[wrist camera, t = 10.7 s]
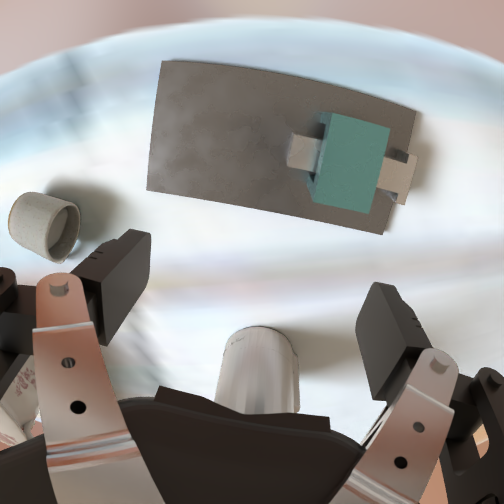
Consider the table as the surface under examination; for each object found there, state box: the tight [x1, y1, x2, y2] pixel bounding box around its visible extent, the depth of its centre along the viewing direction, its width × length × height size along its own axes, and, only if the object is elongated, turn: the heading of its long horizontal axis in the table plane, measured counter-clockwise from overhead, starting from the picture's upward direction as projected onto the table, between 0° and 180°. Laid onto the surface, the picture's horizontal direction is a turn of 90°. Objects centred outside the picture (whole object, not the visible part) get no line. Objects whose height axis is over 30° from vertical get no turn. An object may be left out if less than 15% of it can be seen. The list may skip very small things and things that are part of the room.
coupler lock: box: [307, 112, 390, 214], centre depth 27 cm, size 5×8×6 cm, turn 171°
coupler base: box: [146, 61, 418, 235], centre depth 29 cm, size 26×14×4 cm, turn 80°
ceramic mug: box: [8, 192, 81, 264], centre depth 34 cm, size 10×8×7 cm
